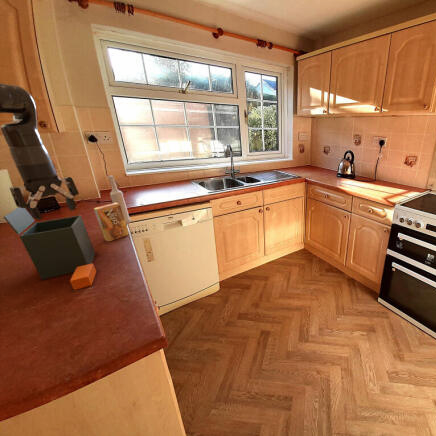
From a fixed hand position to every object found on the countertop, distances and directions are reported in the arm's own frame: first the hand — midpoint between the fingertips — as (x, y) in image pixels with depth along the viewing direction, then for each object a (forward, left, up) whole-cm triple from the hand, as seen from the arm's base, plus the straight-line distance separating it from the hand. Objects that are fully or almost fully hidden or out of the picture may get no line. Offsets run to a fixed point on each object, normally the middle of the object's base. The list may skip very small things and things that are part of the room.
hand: (56, 214), depth 76 cm
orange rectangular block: (+2, -5, -23) cm, 23 cm away
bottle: (+10, +47, -23) cm, 53 cm away
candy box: (+8, +29, -23) cm, 38 cm away
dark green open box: (-5, +10, -23) cm, 25 cm away
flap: (-12, +10, -2) cm, 16 cm away
